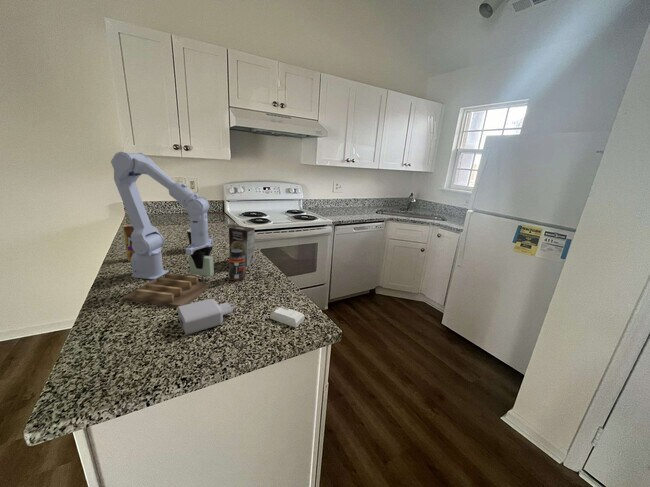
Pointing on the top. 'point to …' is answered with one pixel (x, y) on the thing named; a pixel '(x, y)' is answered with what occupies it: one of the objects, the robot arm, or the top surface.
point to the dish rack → (168, 291)
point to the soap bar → (287, 316)
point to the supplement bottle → (237, 265)
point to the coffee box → (242, 242)
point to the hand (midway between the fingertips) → (201, 266)
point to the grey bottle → (203, 315)
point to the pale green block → (207, 266)
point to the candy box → (128, 240)
